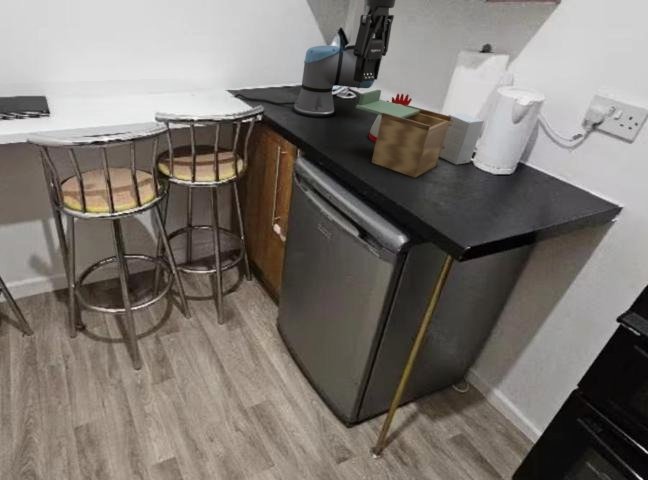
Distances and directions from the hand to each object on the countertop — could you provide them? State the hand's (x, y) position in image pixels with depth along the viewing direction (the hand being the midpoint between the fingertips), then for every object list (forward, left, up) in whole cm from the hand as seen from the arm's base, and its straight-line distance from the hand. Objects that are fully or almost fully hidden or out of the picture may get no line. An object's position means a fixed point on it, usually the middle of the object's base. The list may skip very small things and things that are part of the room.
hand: (365, 79), depth 134 cm
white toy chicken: (+4, +17, -21) cm, 27 cm away
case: (+18, 0, -20) cm, 27 cm away
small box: (+26, +17, -21) cm, 37 cm away
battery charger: (0, 0, 0) cm, 1 cm away
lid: (+9, 0, -7) cm, 11 cm away
